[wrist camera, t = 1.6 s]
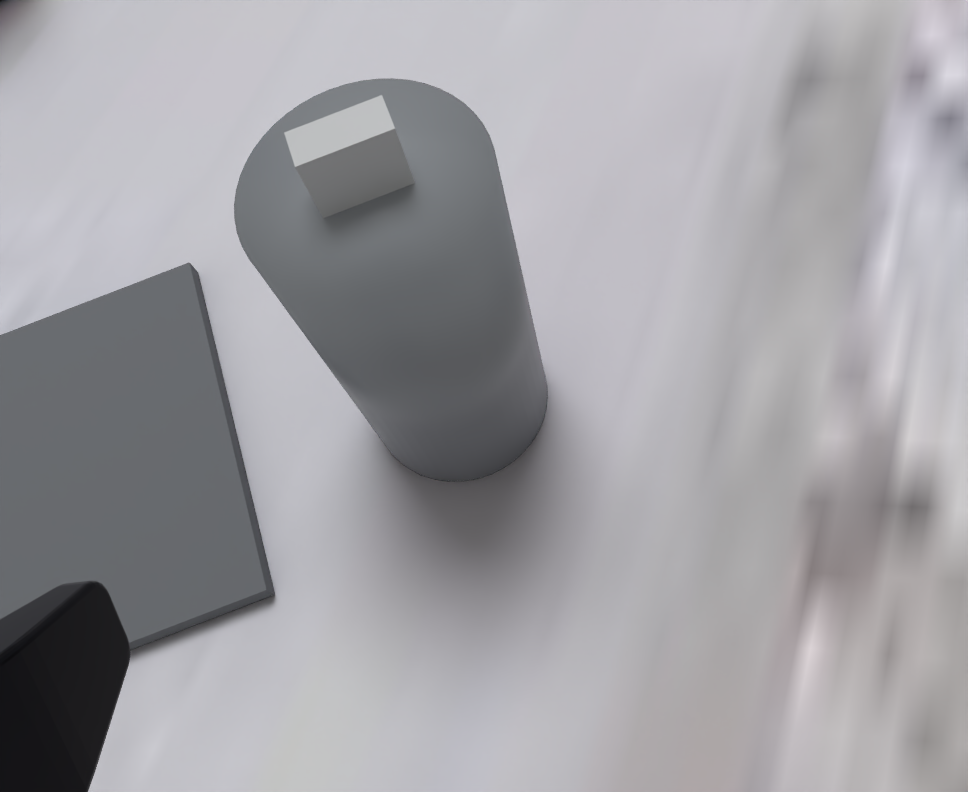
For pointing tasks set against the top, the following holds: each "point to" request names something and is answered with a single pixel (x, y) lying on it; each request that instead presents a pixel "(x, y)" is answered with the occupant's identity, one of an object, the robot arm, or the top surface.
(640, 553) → the top surface
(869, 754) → the top surface
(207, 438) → the charcoal mat
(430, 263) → the grey bottle
